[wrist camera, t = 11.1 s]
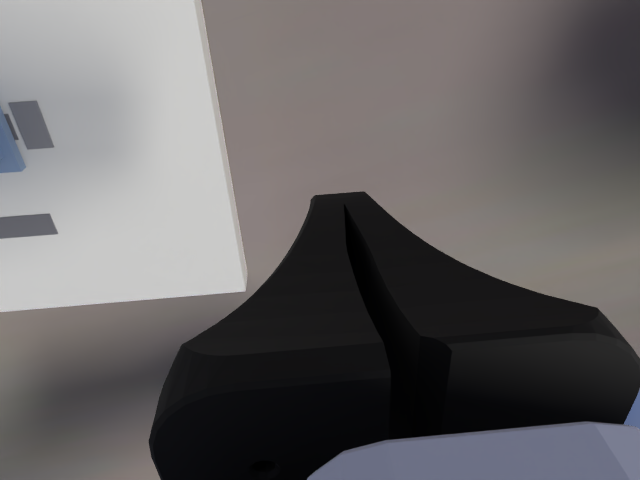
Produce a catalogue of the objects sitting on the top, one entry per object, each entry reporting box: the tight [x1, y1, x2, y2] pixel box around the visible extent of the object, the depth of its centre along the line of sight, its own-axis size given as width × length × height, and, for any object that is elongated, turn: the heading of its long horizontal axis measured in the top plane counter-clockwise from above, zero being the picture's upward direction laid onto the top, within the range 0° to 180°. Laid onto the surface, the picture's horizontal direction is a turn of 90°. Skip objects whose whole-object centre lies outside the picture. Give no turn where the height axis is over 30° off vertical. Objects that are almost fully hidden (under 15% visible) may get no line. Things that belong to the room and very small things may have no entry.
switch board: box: [0, 0, 247, 312], centre depth 19 cm, size 15×16×2 cm
